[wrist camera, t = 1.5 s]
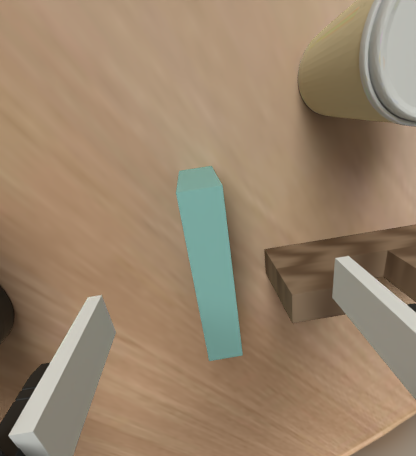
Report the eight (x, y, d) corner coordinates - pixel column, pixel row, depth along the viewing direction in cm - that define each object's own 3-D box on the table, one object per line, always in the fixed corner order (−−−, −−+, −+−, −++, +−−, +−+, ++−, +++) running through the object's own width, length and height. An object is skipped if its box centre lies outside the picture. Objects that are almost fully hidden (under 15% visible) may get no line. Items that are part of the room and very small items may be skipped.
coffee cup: (395, 85, 25) (557, 57, 14) (314, 143, 27) (403, 158, 16) (361, -14, 22) (539, -151, 11) (271, 59, 24) (346, 4, 13)
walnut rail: (265, 272, 33) (292, 323, 25) (264, 249, 32) (292, 294, 23) (413, 248, 33) (489, 290, 25) (418, 224, 32) (500, 260, 24)
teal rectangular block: (203, 302, 34) (209, 361, 26) (179, 170, 27) (176, 192, 19) (229, 298, 34) (242, 355, 26) (211, 165, 27) (222, 185, 19)
